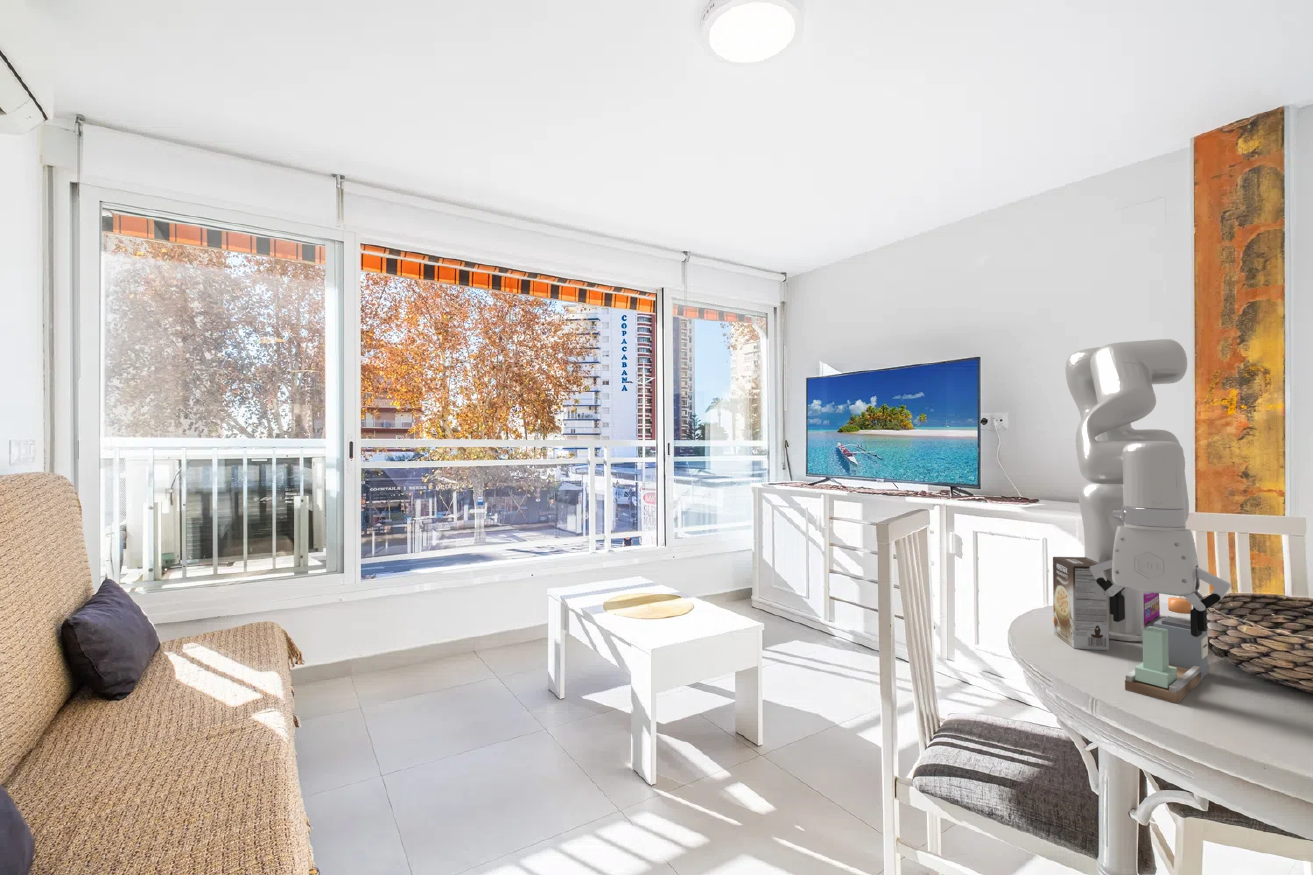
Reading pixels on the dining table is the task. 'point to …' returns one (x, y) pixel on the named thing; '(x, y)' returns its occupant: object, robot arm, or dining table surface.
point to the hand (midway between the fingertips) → (1156, 627)
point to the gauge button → (1179, 605)
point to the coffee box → (1079, 604)
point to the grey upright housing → (1185, 644)
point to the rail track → (1175, 691)
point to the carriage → (1155, 659)
